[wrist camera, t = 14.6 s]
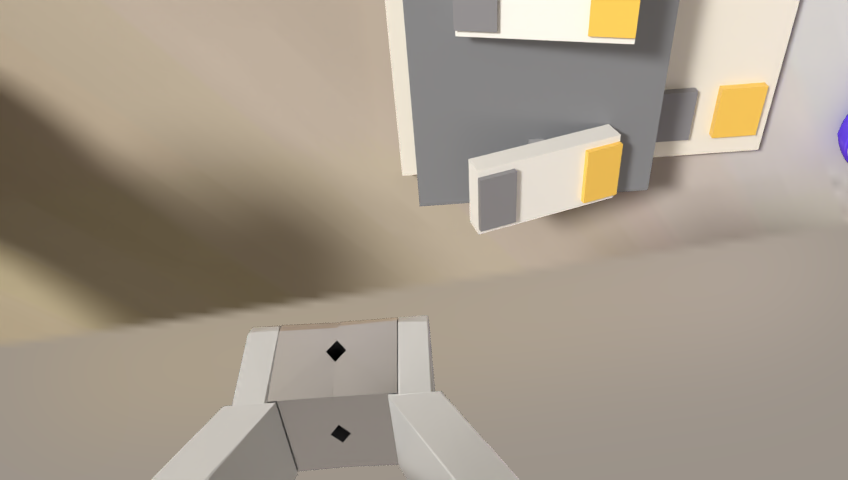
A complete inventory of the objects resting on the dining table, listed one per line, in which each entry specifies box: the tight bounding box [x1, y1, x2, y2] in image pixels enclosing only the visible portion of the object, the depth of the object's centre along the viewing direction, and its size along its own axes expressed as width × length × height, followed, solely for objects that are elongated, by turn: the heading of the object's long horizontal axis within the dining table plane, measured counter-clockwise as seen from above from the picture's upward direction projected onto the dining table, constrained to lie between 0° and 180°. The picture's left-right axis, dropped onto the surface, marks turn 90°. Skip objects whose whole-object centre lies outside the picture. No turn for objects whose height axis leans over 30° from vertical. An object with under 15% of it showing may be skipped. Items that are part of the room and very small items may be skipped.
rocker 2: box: [468, 124, 623, 234], centre depth 37 cm, size 8×4×2 cm, turn 94°
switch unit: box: [385, 0, 800, 206], centre depth 37 cm, size 22×16×6 cm
